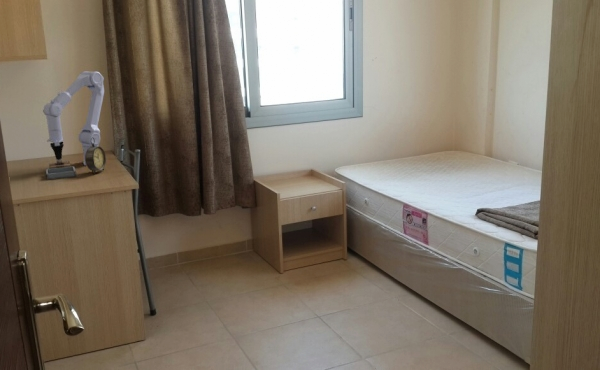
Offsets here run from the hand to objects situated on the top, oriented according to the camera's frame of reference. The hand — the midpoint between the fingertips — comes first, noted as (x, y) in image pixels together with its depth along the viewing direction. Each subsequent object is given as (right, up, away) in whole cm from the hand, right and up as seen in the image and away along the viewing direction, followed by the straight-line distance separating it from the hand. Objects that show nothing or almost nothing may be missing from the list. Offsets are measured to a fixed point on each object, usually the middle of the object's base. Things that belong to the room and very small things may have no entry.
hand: (58, 158), depth 292 cm
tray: (+5, -8, -9) cm, 13 cm away
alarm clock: (+19, -7, -5) cm, 21 cm away
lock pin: (0, -4, +1) cm, 4 cm away
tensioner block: (0, -5, +1) cm, 6 cm away
